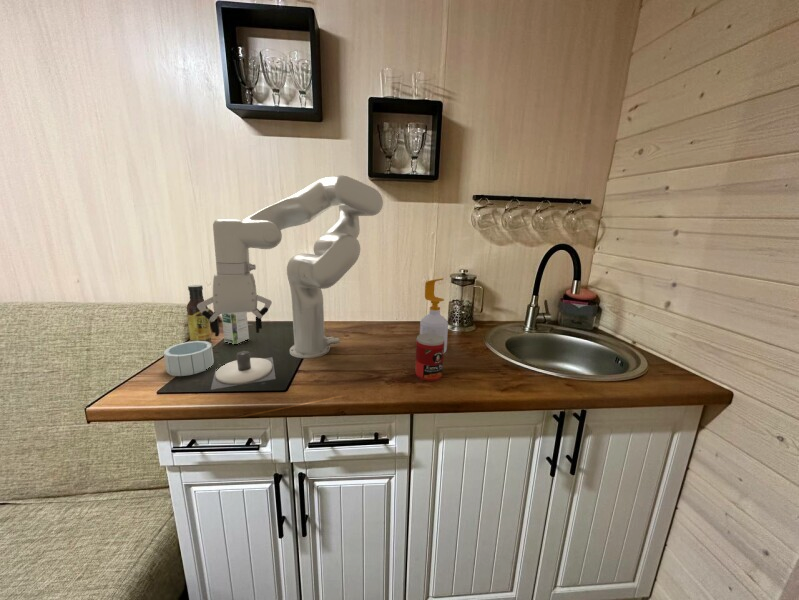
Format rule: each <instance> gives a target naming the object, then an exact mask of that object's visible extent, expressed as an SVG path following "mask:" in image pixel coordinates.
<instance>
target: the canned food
mask: <svg viewBox="0 0 799 600" xmlns="http://www.w3.org/2000/svg"><path fill="white" fill-rule="evenodd" d="M444 355H445V353H444V338H443V337H442V336H440V335H437V334H432V333H425V334H420V333H419V334H418V335H417V336H416V342H415V369H414V370H415V371H414V372H415V375H416V377H417V378H418V379H419V380H422V381H425V382H434V381H439V380H440V379H441V378H442V377H443V373H444V372H443V371H444Z"/></svg>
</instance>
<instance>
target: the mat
mask: <svg viewBox="0 0 799 600" xmlns="http://www.w3.org/2000/svg"><path fill="white" fill-rule="evenodd" d="M262 358H263V357H262ZM263 359H267V360H269V361H270V362H271V363H272V370H271V372H270V373H269V374H268V375H266V376H265V377H263V378H261V379H258V380H255V381H252V382H248V383H242V384H225V383H221V382H219V381H218V380H217V379H216V370H217V369H218V368H217V369H216V368H215V371H214V375H213V378H212V383H211V388H210V391H212V390H217V389H218V390H220V389H224V388H230V387H235V386H243V385H249V384H255V383H259V382H260V383H261V382H267V381H273V380H276V373H275V364H274V359H273V356H271V357H265V358H263Z"/></svg>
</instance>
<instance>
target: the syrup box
mask: <svg viewBox="0 0 799 600" xmlns="http://www.w3.org/2000/svg"><path fill="white" fill-rule="evenodd" d="M221 319H222V320H221V321H222V329H223V330H222V331H223V339H224V343H225V342H228V343H227V344H229V343H232V344H231V345H234V344H238V343H240V342H242V341H245V340H247V339H249V340H250V335H249V324H248V312H247V313H232V314H221ZM245 342H246V341H245ZM240 344H241V343H240ZM238 345H239V344H238Z"/></svg>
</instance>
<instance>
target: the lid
mask: <svg viewBox="0 0 799 600" xmlns="http://www.w3.org/2000/svg"><path fill="white" fill-rule="evenodd" d="M224 364H225V365H223V366H221V367H220V368H219V369H218V370H217V371H216V379H217V380H218V381H219V382H221V383H225V384H242V383H248V382H252V381H255V380H258V379H261V378H263V377H265V376H266V375H268V374H269V373H270V372H271V370H272V363H271V362H270V361H269V360H267V359H263V357H262V358H261V357H251V355H250V351H248V350H241V351H238V352H236V360H233V361H230V362H227V363H224Z"/></svg>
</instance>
